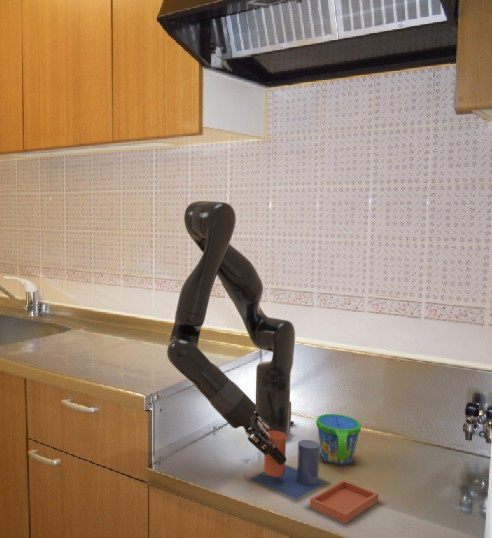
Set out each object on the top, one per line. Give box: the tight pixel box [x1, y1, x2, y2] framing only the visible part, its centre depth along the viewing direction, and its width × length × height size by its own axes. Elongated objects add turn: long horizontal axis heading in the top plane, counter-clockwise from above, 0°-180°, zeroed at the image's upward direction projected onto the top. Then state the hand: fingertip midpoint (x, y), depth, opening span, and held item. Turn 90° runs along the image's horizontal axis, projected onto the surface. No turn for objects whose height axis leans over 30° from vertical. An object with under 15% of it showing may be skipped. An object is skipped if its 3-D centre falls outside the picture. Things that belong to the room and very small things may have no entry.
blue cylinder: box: [296, 439, 321, 486], centre depth 132 cm, size 5×5×9 cm
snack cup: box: [315, 413, 362, 466], centre depth 144 cm, size 16×10×10 cm
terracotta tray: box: [309, 479, 379, 524], centre depth 122 cm, size 13×8×2 cm, turn 130°
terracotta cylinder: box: [263, 431, 287, 477], centre depth 132 cm, size 5×5×9 cm
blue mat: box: [252, 464, 327, 500], centre depth 133 cm, size 12×12×1 cm
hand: (283, 456), depth 132 cm, fingers closed on terracotta cylinder, 4 cm apart
